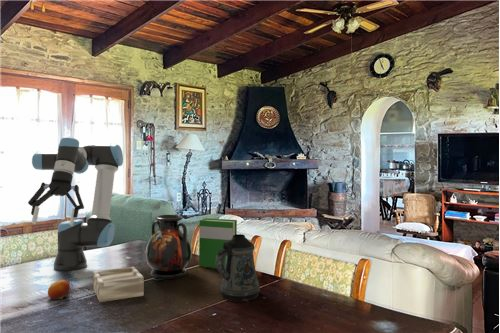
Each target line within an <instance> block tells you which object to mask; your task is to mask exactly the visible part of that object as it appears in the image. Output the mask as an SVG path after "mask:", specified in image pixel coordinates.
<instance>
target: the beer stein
mask: <svg viewBox="0 0 500 333" xmlns="http://www.w3.org/2000/svg"><path fill="white" fill-rule="evenodd" d="M255 247H256V246H255V245H254V243H252V242H251V241H250V240H249V239H248V238H247V237H246V235H245V234H240V233H238V234H236V235H233V238H232V239H231V240H230V241H227V242H224V243H223V249H221V250H220V251H219V252H218V254H217V256H216V267H217V268H216V269H217V271H218V272H219V275H220V276H221V277H222V281H221V284H220V285H219V291H220V296H222V297H221V298H222V299H225V300H226V299H227V301H229V300H232V301H231V302H235V301H246V302H248V301H247V300H251V299H254V298H256V297H257V296H258V297H259V292H260V289H261V288H260V284H259V280H258V276H257V273H256V271H257V270H256V265H255V258H254V251H255ZM225 256H226V260H225V266H223V260H224V257H225ZM258 297H257V298H258ZM257 298H256V299H257ZM254 300H255V299H254ZM251 301H252V300H251Z"/></svg>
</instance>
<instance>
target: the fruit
mask: <svg viewBox="0 0 500 333" xmlns="http://www.w3.org/2000/svg"><path fill="white" fill-rule="evenodd" d="M70 287H71V285H70V282H69V281H67V280H65V279H59V280H57V281H55V282H53V283H51V284H50V285H49V287H48V290H47V296H48V297H49V298H50V299H52V300H63V298H64V297H70V295H69V294H70V293H69V292H70Z"/></svg>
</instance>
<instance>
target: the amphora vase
mask: <svg viewBox="0 0 500 333" xmlns="http://www.w3.org/2000/svg"><path fill="white" fill-rule="evenodd" d="M154 218H155V221H153V222H152V225H151V236H150V239H149V240H148V241H147V242H148V243H147V244H146V248H145V261H146V263H147V265H148V266H149V267H150V268H151V271H150V275H151V276H152V277H153V278H155V279H158V280H159V279H160V280H174V279H178V278H182V277H183V276H185V275H186V273H187V270H186V267H187V266H188V264H189V263H190V261H191V258H192V247H191V242H190V241H189V239H188V236H187V235H188V230H187V226H186V224H185V223H183V222H181V221H182V220H183V219H184V218H183V216H182V215H179V214H161V215H160V214H159V215H157V216H155V217H154ZM179 222H180V223H179ZM156 225H157V226H158V228H157V230H156ZM180 227H182V230H183V231H182V230H181V229H180Z"/></svg>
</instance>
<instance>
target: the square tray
mask: <svg viewBox="0 0 500 333" xmlns="http://www.w3.org/2000/svg"><path fill="white" fill-rule="evenodd" d="M92 273H93V282H92V284H93V288H92V289H93V291H94V293H95V295H96V297H97V299H98V301H99V303H103V302H105V303H106V302H111V301H116V300H117V301H118V300H124V299H128V298H129V299H130V298H136V297H143V296H145V295H144V292H145V288H144V287H145V285H144V283H145V282H144V280H145V279H144V278H145V277H144V275H142V273H140V271H139V270H138V269H137V268H136V267H135V266H129V267H128V266H127V267H121V268H120V267H119V268H111V269H104V270H103V269H102V270H95V271H94V270H93V272H92Z"/></svg>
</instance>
